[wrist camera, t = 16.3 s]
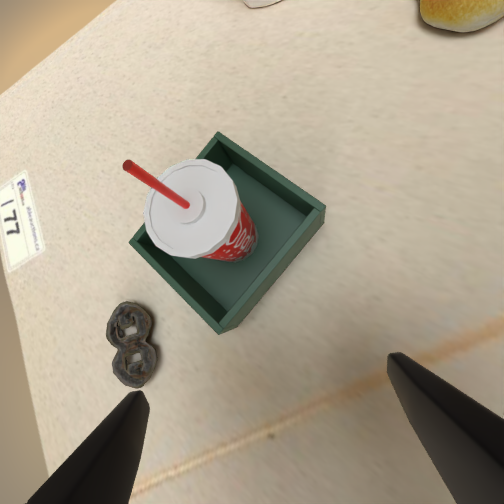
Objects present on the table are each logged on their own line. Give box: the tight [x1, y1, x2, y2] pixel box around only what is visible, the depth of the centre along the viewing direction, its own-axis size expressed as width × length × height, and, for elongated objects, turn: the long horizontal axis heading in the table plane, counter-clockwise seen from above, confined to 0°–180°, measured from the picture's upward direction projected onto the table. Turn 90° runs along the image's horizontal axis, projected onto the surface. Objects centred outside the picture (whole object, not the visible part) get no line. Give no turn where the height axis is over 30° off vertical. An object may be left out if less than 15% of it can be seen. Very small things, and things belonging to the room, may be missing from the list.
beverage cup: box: [123, 159, 259, 263], centre depth 17 cm, size 6×6×14 cm
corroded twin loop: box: [106, 301, 157, 389], centre depth 24 cm, size 5×8×1 cm, turn 18°
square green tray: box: [129, 132, 326, 335], centre depth 22 cm, size 12×11×4 cm
